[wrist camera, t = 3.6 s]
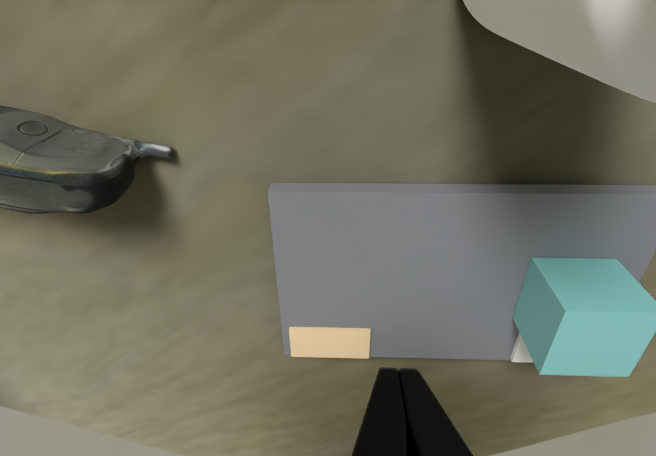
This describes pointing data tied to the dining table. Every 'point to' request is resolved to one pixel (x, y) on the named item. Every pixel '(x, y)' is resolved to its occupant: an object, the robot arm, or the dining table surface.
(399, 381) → the robot arm
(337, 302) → the grey flat board
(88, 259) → the dining table surface
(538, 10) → the can
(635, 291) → the teal cube
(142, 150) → the mobile phone
